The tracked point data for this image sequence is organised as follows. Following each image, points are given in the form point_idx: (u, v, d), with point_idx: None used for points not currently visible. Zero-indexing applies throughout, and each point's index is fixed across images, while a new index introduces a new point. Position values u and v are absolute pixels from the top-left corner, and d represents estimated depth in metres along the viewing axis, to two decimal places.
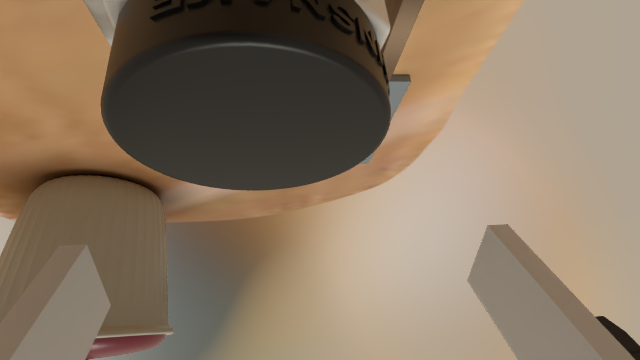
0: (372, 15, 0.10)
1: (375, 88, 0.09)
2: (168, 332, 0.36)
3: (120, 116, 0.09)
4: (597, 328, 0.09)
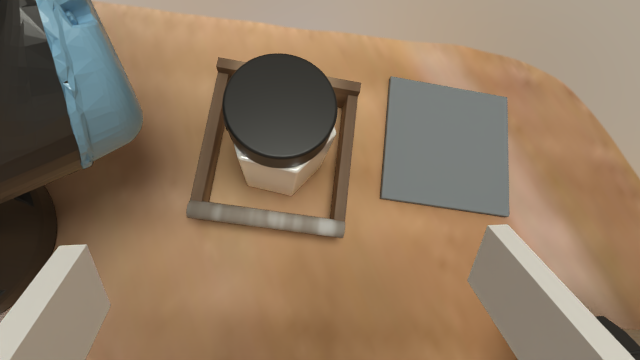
0: None
1: (252, 59, 0.25)
2: None
3: (252, 143, 0.23)
4: (597, 328, 0.09)
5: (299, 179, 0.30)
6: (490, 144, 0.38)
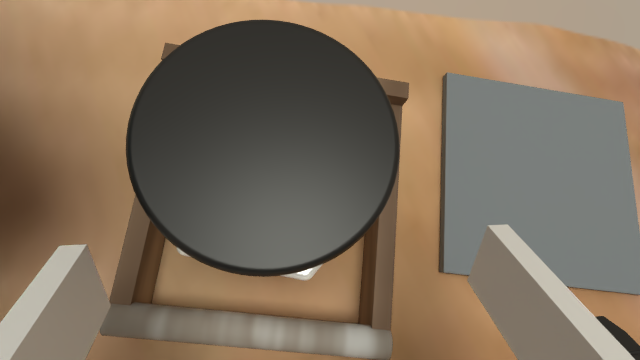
0: None
1: (203, 32, 0.11)
2: None
3: (197, 240, 0.09)
4: (597, 328, 0.09)
5: None
6: (605, 177, 0.24)
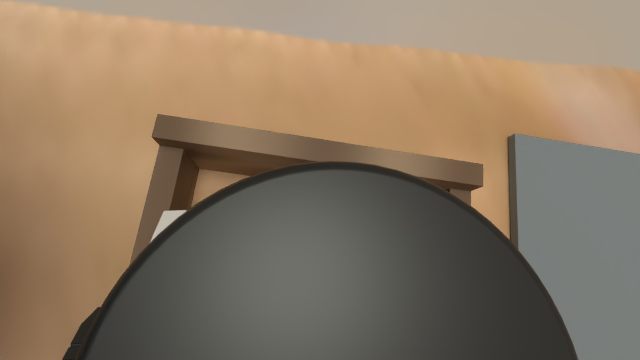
0: None
1: (217, 196, 0.06)
2: None
3: None
4: None
5: None
6: None
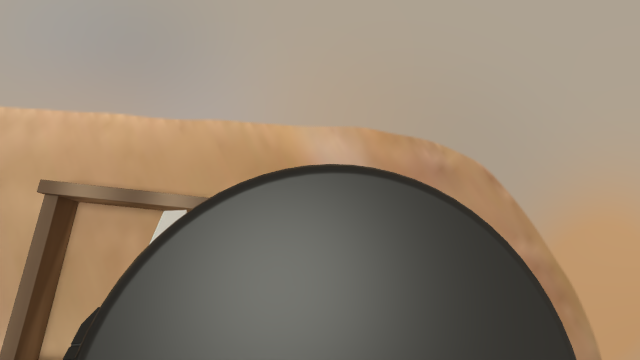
0: None
1: (215, 199, 0.06)
2: None
3: None
4: None
5: None
6: None
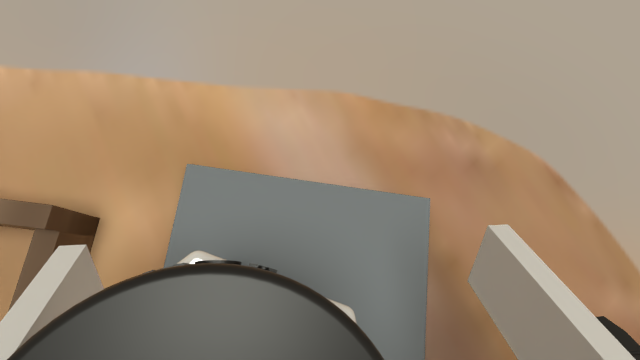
0: None
1: (115, 289, 0.06)
2: None
3: None
4: (597, 328, 0.08)
5: None
6: (388, 306, 0.18)
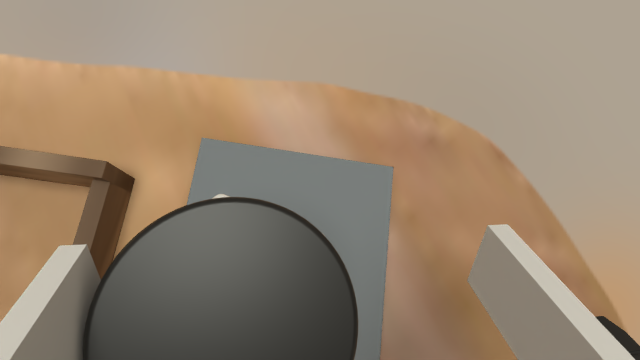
0: None
1: (182, 209, 0.11)
2: None
3: None
4: (597, 328, 0.09)
5: None
6: (357, 247, 0.24)
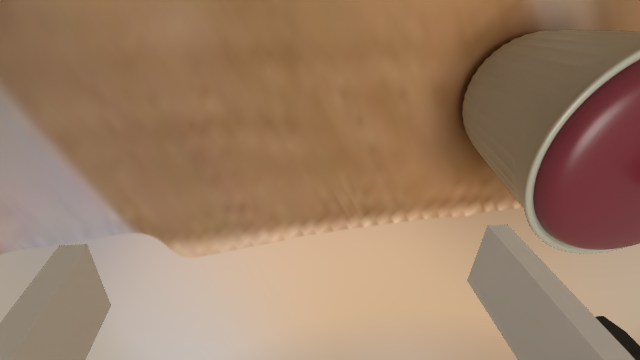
0: None
1: None
2: None
3: None
4: (597, 328, 0.09)
5: None
6: None
